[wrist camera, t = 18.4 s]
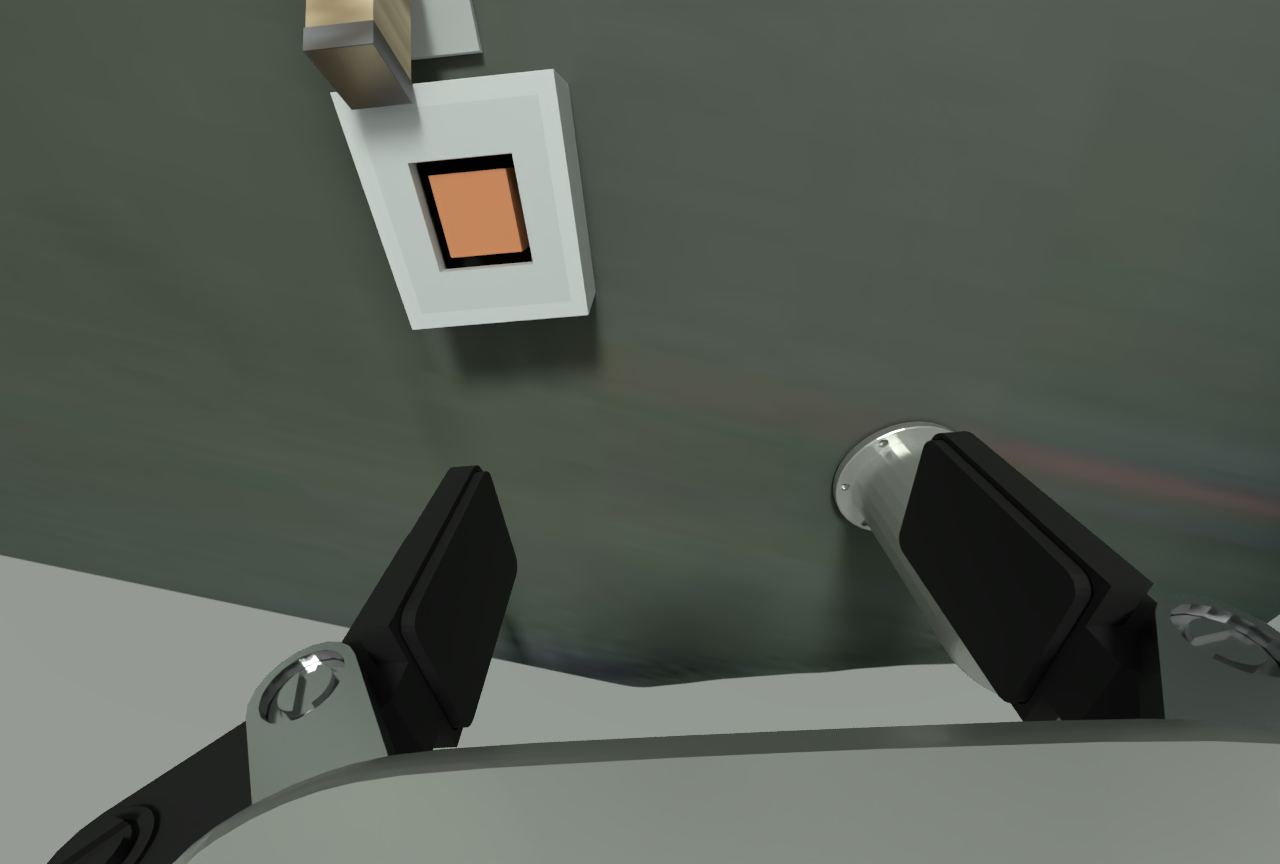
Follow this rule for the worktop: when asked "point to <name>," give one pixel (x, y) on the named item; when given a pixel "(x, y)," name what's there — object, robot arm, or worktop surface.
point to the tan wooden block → (362, 49)
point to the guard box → (463, 128)
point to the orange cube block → (480, 212)
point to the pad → (443, 29)
